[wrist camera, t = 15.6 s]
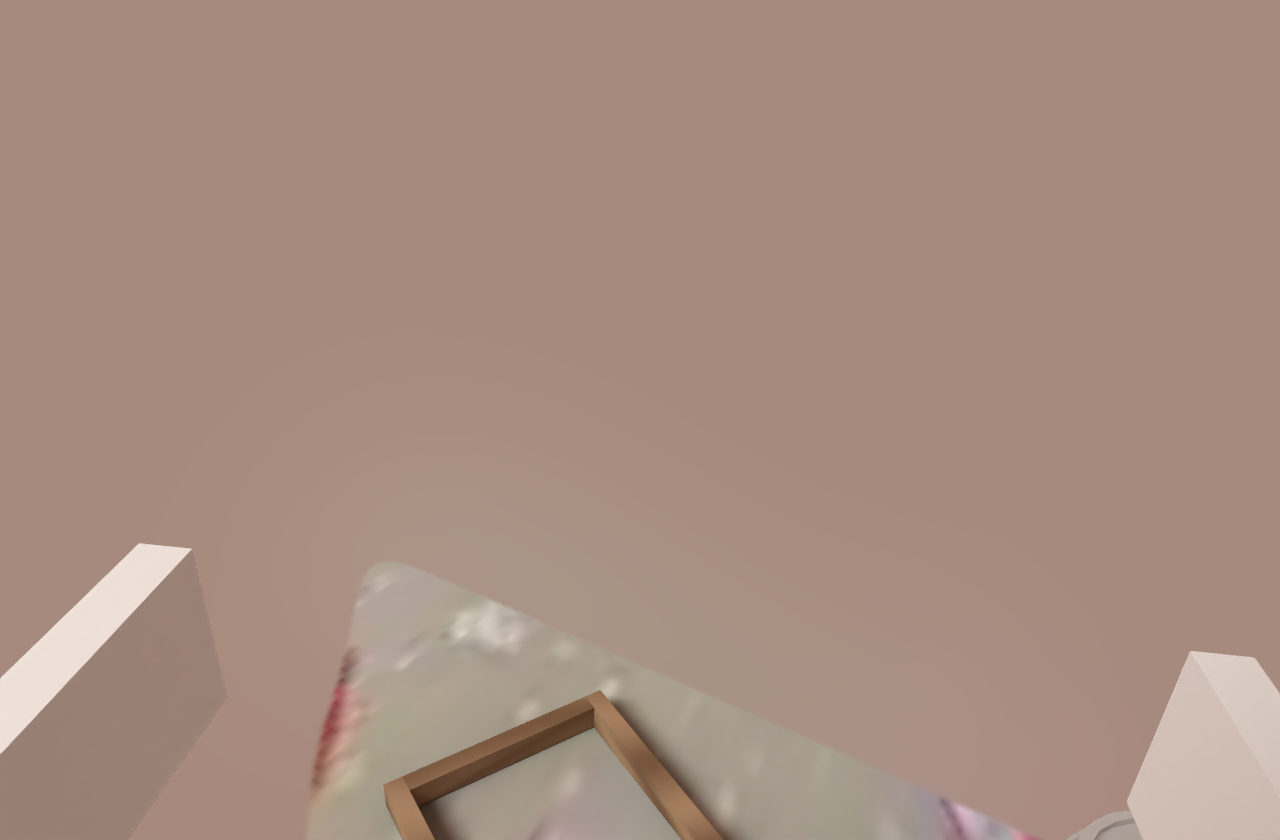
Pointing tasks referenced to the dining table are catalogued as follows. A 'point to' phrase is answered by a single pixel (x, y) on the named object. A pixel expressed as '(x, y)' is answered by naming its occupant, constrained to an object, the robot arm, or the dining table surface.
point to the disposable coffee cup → (1110, 828)
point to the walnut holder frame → (533, 739)
